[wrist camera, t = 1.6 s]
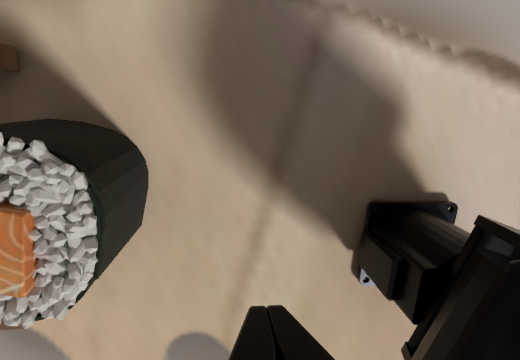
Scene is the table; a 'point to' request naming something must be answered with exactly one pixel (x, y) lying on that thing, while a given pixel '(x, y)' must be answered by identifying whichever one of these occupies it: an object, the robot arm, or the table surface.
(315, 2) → the table surface
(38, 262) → the sushi
